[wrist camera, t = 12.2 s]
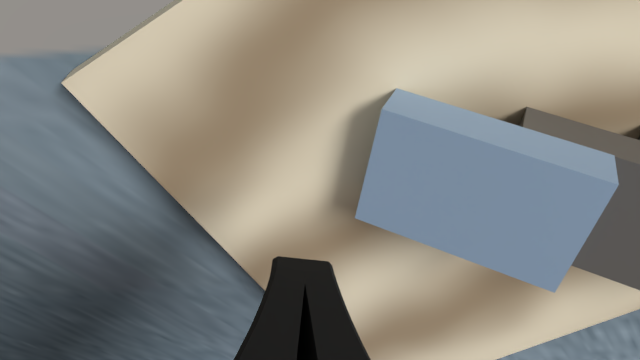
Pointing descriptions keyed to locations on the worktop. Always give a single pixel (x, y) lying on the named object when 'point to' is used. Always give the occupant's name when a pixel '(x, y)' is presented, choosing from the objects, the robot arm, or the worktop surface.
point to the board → (363, 141)
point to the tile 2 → (621, 211)
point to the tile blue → (484, 188)
